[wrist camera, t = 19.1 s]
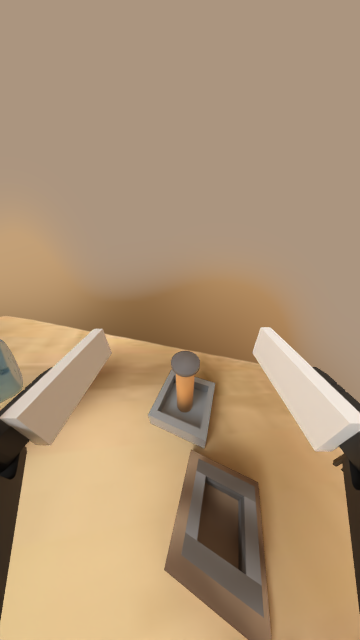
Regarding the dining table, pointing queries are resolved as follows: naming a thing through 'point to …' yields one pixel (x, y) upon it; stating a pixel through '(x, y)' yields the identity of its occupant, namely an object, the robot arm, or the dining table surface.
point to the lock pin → (185, 378)
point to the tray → (180, 423)
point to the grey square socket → (222, 545)
